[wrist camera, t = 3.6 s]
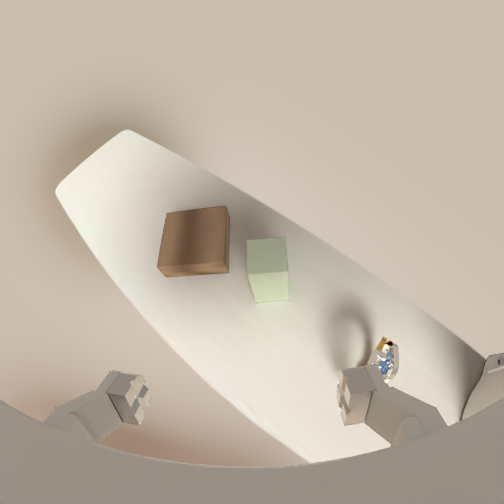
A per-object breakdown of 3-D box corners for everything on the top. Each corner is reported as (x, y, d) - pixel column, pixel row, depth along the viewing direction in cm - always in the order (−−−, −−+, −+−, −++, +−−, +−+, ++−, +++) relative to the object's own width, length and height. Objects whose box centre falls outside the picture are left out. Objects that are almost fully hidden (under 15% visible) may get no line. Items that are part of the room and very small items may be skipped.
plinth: (229, 218, 40) (225, 205, 38) (228, 272, 36) (223, 261, 33) (173, 225, 41) (166, 213, 39) (165, 277, 37) (157, 266, 34)
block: (286, 271, 35) (284, 236, 28) (288, 300, 33) (288, 271, 26) (255, 274, 35) (246, 240, 28) (256, 303, 33) (247, 274, 26)
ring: (367, 341, 29) (389, 322, 22) (388, 354, 27) (416, 338, 21) (335, 391, 26) (351, 388, 19) (357, 405, 25) (380, 405, 18)
